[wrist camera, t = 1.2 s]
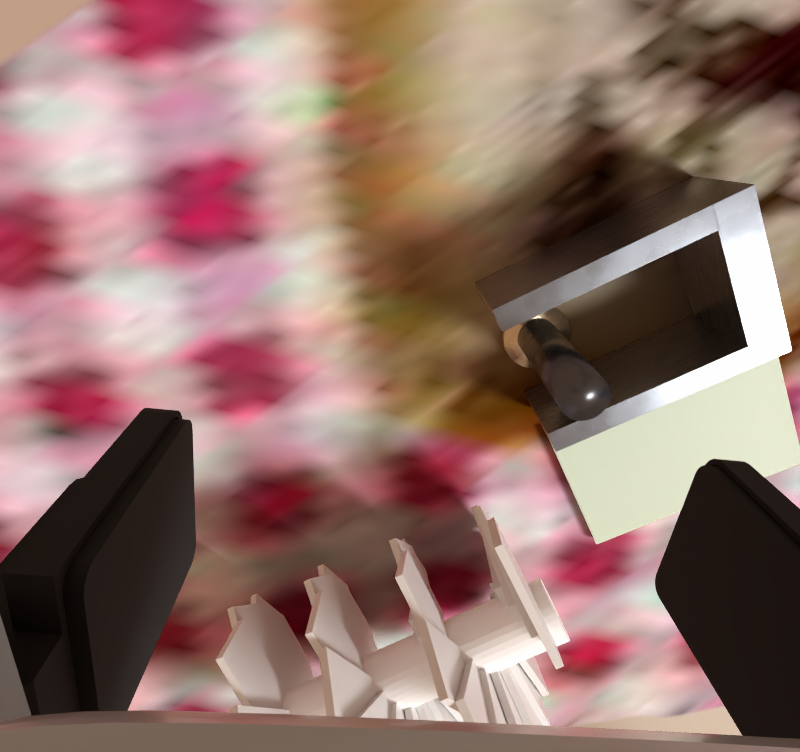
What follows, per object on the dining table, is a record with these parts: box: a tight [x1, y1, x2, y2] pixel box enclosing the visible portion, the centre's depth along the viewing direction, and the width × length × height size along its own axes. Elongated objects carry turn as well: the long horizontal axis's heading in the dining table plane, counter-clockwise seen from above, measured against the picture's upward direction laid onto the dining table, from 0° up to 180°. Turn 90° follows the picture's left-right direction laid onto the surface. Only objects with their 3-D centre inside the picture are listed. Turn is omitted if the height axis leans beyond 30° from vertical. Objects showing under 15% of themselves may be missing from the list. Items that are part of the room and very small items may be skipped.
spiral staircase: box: [216, 505, 570, 726], centre depth 38 cm, size 18×18×25 cm
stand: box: [502, 307, 611, 421], centre depth 33 cm, size 4×4×10 cm
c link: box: [475, 176, 792, 452], centre depth 34 cm, size 14×10×6 cm
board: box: [549, 357, 800, 544], centre depth 40 cm, size 16×11×1 cm
